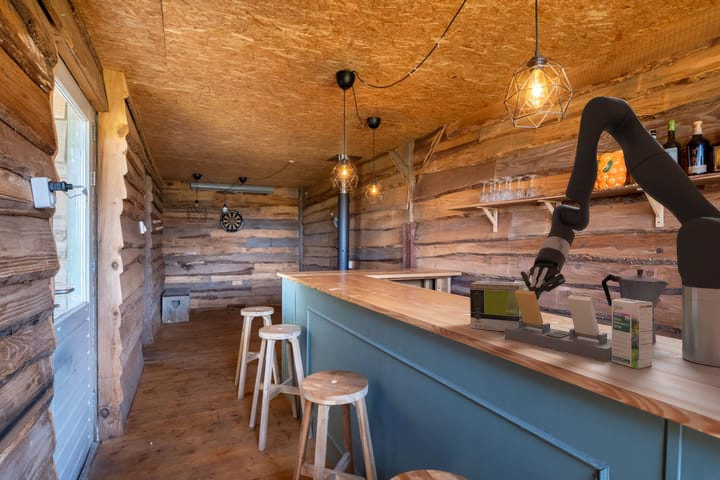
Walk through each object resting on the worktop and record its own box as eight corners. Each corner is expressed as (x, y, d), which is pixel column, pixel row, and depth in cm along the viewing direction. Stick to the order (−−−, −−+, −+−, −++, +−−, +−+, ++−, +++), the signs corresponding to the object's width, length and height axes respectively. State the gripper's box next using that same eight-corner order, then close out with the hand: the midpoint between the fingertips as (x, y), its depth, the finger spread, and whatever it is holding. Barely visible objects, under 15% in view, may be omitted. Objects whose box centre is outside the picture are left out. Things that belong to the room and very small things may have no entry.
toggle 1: (545, 327, 104) (535, 291, 101) (542, 330, 103) (532, 294, 100) (527, 324, 108) (517, 289, 105) (524, 327, 107) (514, 292, 104)
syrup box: (610, 361, 87) (609, 299, 87) (627, 358, 89) (627, 297, 89) (636, 369, 81) (635, 303, 81) (654, 366, 83) (653, 301, 83)
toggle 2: (601, 337, 93) (592, 297, 90) (598, 341, 92) (589, 300, 89) (578, 333, 97) (569, 295, 94) (576, 337, 96) (566, 298, 93)
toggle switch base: (623, 353, 92) (623, 332, 92) (606, 361, 86) (606, 339, 86) (523, 333, 113) (523, 316, 113) (504, 338, 107) (504, 320, 107)
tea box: (525, 327, 121) (524, 282, 121) (519, 334, 112) (519, 285, 112) (477, 322, 129) (477, 279, 129) (469, 328, 120) (469, 282, 120)
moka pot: (670, 348, 96) (670, 271, 96) (600, 339, 106) (599, 268, 106) (668, 340, 104) (668, 268, 104) (603, 332, 113) (602, 266, 113)
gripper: (526, 246, 116) (504, 289, 108) (571, 246, 105) (550, 294, 98) (535, 262, 119) (514, 305, 111) (580, 264, 108) (560, 312, 101)
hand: (531, 300), depth 105 cm, fingers closed
